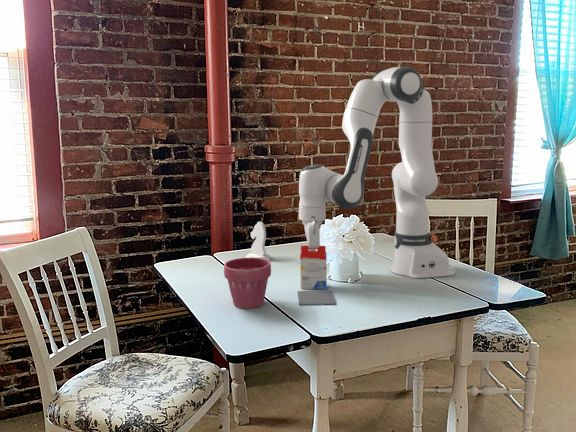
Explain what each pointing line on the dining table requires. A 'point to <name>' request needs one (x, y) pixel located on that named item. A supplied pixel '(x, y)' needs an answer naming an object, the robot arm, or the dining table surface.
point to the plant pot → (247, 280)
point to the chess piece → (259, 242)
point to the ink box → (313, 268)
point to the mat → (316, 298)
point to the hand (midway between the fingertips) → (312, 254)
